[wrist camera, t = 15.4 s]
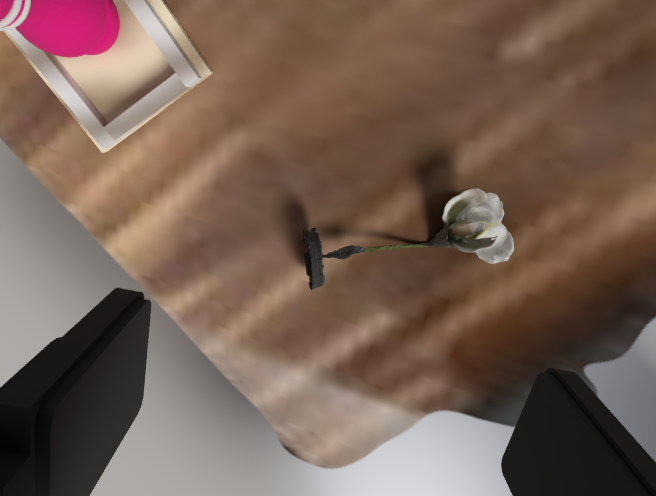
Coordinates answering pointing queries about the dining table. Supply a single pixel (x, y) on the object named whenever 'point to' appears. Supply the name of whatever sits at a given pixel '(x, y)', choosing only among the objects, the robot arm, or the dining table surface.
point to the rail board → (123, 72)
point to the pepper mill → (63, 24)
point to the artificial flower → (459, 232)
